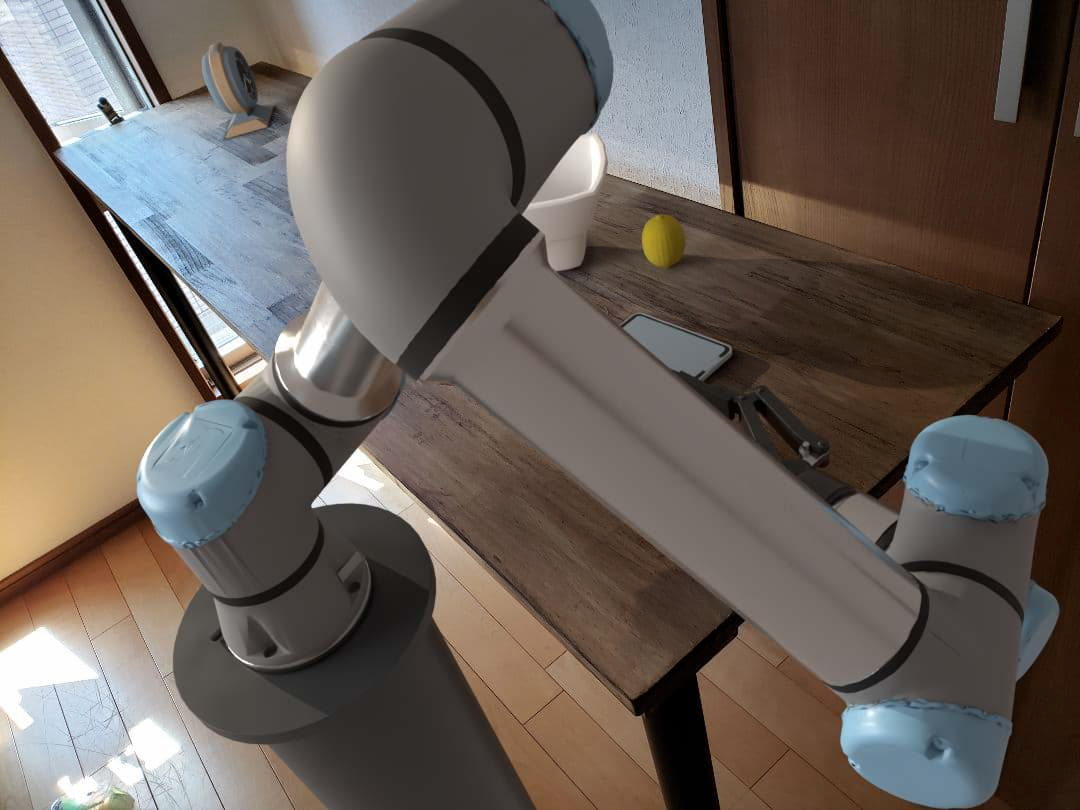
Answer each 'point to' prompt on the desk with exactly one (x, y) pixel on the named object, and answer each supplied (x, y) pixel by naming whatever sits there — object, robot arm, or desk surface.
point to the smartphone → (678, 345)
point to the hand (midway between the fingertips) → (637, 416)
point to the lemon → (663, 240)
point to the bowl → (570, 201)
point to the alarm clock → (234, 89)
